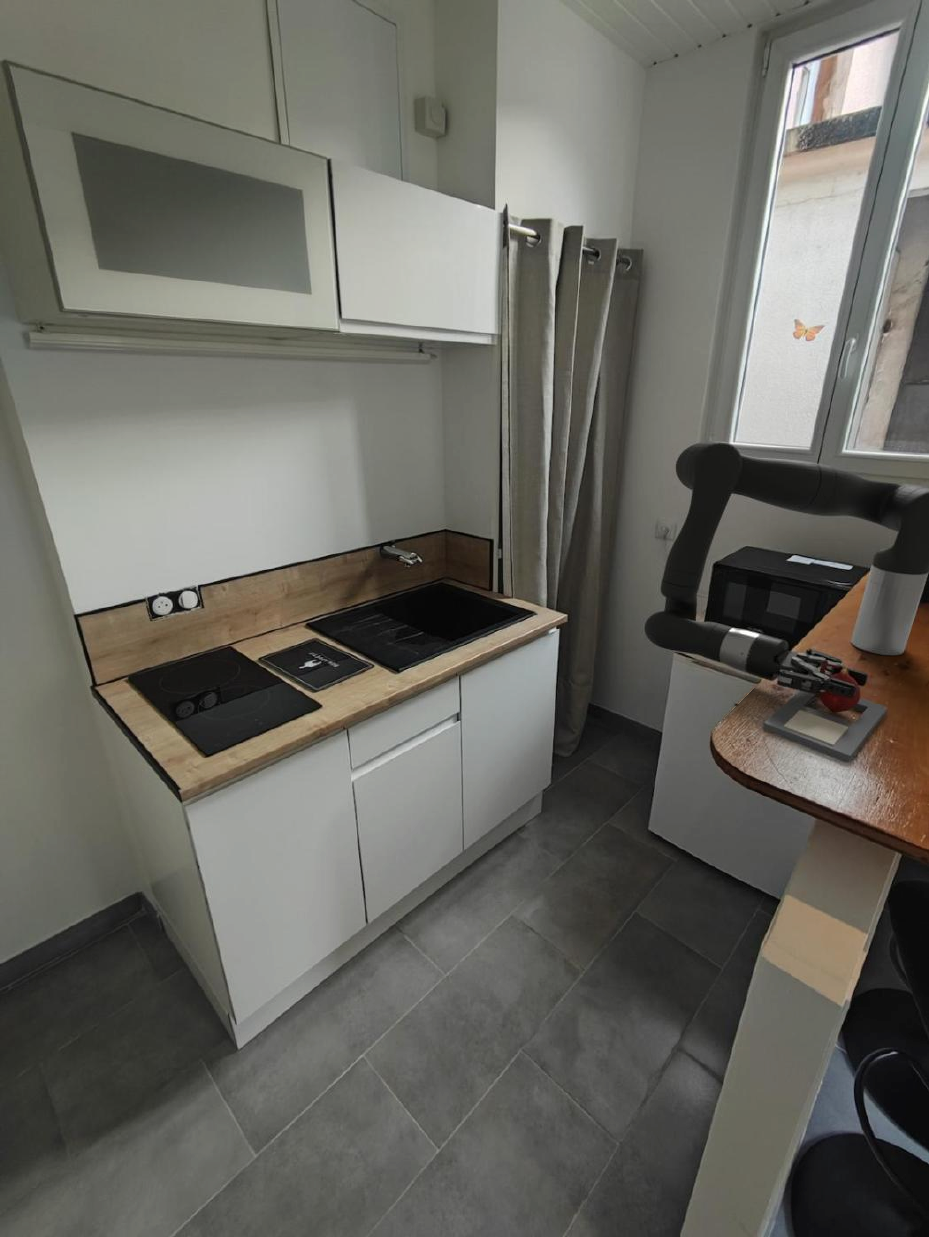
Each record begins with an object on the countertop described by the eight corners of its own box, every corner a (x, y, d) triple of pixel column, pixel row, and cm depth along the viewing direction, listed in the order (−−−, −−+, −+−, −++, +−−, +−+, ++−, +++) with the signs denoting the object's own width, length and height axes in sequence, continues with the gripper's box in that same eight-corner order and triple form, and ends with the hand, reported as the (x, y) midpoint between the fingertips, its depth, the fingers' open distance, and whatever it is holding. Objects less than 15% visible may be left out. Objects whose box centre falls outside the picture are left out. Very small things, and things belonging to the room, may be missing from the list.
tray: (807, 687, 103) (809, 681, 103) (885, 713, 95) (888, 706, 94) (762, 729, 91) (764, 721, 90) (848, 762, 82) (850, 754, 82)
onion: (860, 723, 92) (873, 679, 89) (821, 719, 93) (833, 676, 90) (845, 705, 97) (857, 663, 94) (808, 702, 98) (819, 660, 95)
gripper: (739, 645, 97) (853, 679, 85) (772, 623, 106) (879, 652, 94) (732, 684, 100) (841, 722, 88) (765, 660, 109) (868, 691, 97)
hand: (860, 686), depth 91 cm, fingers closed on onion, 5 cm apart
